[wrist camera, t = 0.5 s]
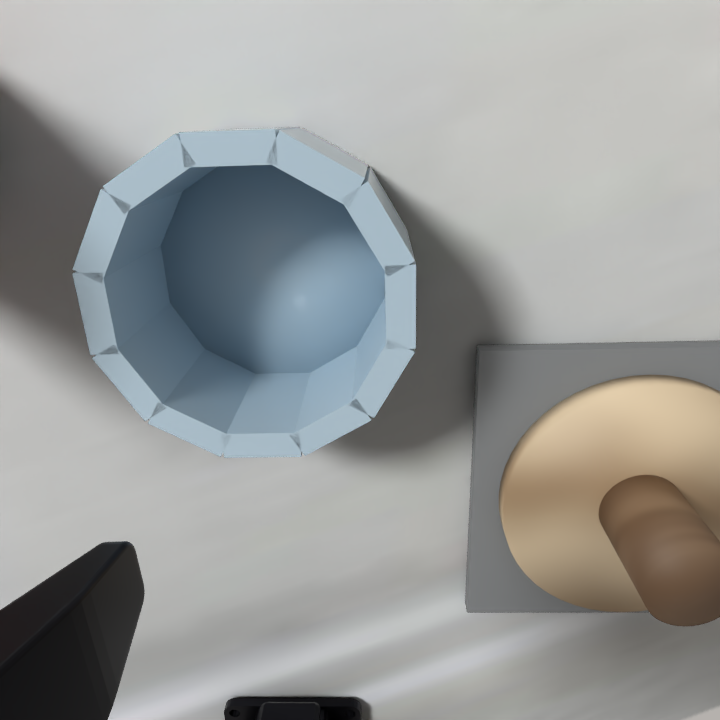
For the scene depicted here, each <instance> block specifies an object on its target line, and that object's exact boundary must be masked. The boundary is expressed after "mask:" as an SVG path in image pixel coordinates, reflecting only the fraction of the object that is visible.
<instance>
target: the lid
mask: <svg viewBox="0 0 720 720" xmlns="http://www.w3.org/2000/svg"><path fill="white" fill-rule="evenodd" d="M499 513H500V518H501V523H502V527H503V530H504V533H505V537H506V540H507V543H508V545H509V548H510V551H511V553H512V555H513V557H514V559H515V560H516V562H517V564H518V565H519V566H520V568H521V569H522V570H523V572H524V573H525V574H526V575H527V576H528V577H529V578H530V579H531V580H532V581H533V582H534V583H535V584H536V585H538V586H539V587H540V588H542V589H543V590H544V591H546V592H547V593H549V594H551V595H553V596H555V597H556V598H558V599H560V600H563V601H565V602H568V603H570V604H573V605H576V606H580V607H584V608H587V609H592V610H599V611H606V612H638V611H645V610H648V611H649V612H650V613H651V614H652V615H653V616H654V617H655V618H656V619H658V620H660V621H662V622H664V623H667V624H670V625H675V626H695V625H700V624H704V623H707V622H710V621H713V620H715V619H717V618H719V617H720V391H718V390H716V389H714V388H712V387H709V386H707V385H705V384H703V383H700V382H697V381H693V380H690V379H687V378H681V377H675V376H669V375H636V376H628V377H622V378H617V379H612V380H609V381H605V382H602V383H599V384H596V385H593V386H590V387H588V388H586V389H583V390H581V391H579V392H576V393H575V394H573V395H571V396H569V397H568V398H566V399H564V400H562V401H561V402H559V403H558V404H556V405H555V406H553V407H552V408H551V409H549V410H548V411H547V412H545V413H544V414H543V415H542V416H541V417H540V418H539V419H538V420H537V421H535V422H534V423H533V424H532V425H531V426H530V428H529V429H528V430H527V431H526V432H525V434H524V435H523V436H522V437H521V438H520V440H519V441H518V443H517V445H516V446H515V448H514V449H513V451H512V452H511V455H510V457H509V459H508V461H507V463H506V465H505V468H504V471H503V475H502V478H501V482H500V489H499Z"/></svg>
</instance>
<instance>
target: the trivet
mask: <svg viewBox="0 0 720 720" xmlns="http://www.w3.org/2000/svg"><path fill="white" fill-rule="evenodd" d="M636 375H669V376H675V377H681V378H687V379H690V380H693V381H697V382H700V383H703V384H705V385H707V386H709V387H712V388H714V389H716V390H718V391H720V341H674V342H622V343H570V344H517V345H477V357H476V379H475V401H474V422H473V444H472V465H471V487H470V508H469V530H468V552H467V573H466V595H465V604H466V609H467V613H516V612H606V611H599V610H592V609H587V608H584V607H580V606H576V605H573V604H570V603H568V602H565V601H563V600H560V599H558V598H556V597H555V596H553V595H551V594H549V593H547V592H546V591H544V590H543V589H542V588H540V587H539V586H538V585H536V584H535V583H534V582H533V581H532V580H531V579H530V578H529V577H528V576H527V575H526V574H525V573H524V572H523V570H522V569H521V568H520V566H519V565H518V564H517V562H516V560H515V559H514V557H513V555H512V553H511V551H510V548H509V545H508V543H507V540H506V537H505V533H504V530H503V527H502V523H501V518H500V513H499V489H500V482H501V478H502V475H503V471H504V468H505V465H506V463H507V461H508V459H509V457H510V455H511V452H512V451H513V449H514V448H515V446H516V445H517V443H518V441H519V440H520V438H521V437H522V436H523V435H524V434H525V432H526V431H527V430H528V429H529V428H530V426H531V425H532V424H533V423H534V422H535V421H537V420H538V419H539V418H540V417H541V416H542V415H543V414H544V413H545V412H547V411H548V410H549V409H551V408H552V407H553V406H555V405H556V404H558V403H559V402H561V401H562V400H564V399H566V398H568V397H569V396H571V395H573V394H575V393H576V392H579V391H581V390H583V389H586V388H588V387H590V386H593V385H596V384H599V383H602V382H605V381H609V380H612V379H617V378H622V377H628V376H636ZM638 612H649V611H648V610H645V611H638Z"/></svg>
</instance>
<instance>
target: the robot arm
mask: <svg viewBox="0 0 720 720" xmlns="http://www.w3.org/2000/svg"><path fill="white" fill-rule="evenodd" d="M143 601H144V584H143V579H142V575H141V571H140V567H139V563H138V559H137V555H136V551H135V548H134V546H133V545H132V544H131V543H130V542H127V541H122V542H104V543H101V544H99V545H98V546H96V547H95V548H93V549H92V550H90V551H89V552H87V553H86V554H84V555H83V556H81V557H80V558H78V559H77V560H75V561H74V562H72V563H71V564H69V565H68V566H66V567H64V568H63V569H61V570H60V571H58V572H57V573H55V574H54V575H52V576H51V577H49V578H48V579H46V580H45V581H43V582H42V583H40V584H39V585H37V586H36V587H34V588H33V589H31V590H30V591H28V592H27V593H25V594H24V595H22V596H21V597H19V598H18V599H16V600H15V601H13V602H12V603H10V604H9V605H7V606H6V607H4V608H3V609H1V610H0V720H108V717H109V714H110V712H111V709H112V706H113V703H114V700H115V697H116V694H117V691H118V687H119V684H120V681H121V677H122V674H123V670H124V667H125V663H126V660H127V657H128V653H129V650H130V646H131V643H132V639H133V636H134V633H135V629H136V626H137V622H138V619H139V615H140V612H141V608H142V605H143ZM224 715H225V720H362V718H361V705H360V703H359V702H358V701H357V700H355V699H308V698H233V699H230V700H228V701H227V703H226V706H225V710H224Z"/></svg>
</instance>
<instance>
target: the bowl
mask: <svg viewBox="0 0 720 720" xmlns="http://www.w3.org/2000/svg"><path fill="white" fill-rule="evenodd" d="M367 167H368V164H367V163H365V162H363V161H361V160H359V159H358V158H356V157H354V156H352V155H351V154H349V153H347V152H345V151H344V150H342V149H340V148H339V147H337V146H335V145H333V144H331V143H329V142H328V141H326V140H324V139H322V138H321V137H319V136H317V135H315V134H314V133H312V132H310V131H308V130H307V129H305V128H300V127H284V128H255V129H226V130H209V131H192V132H179V133H178V134H174V135H173V136H171V137H170V138H169V139H167V140H166V141H164V142H163V143H162V144H160V145H159V146H157V147H156V148H155V149H153V150H152V151H151V152H149V153H148V154H146V155H145V156H144V157H142V158H141V159H140V160H138V161H137V162H135V163H134V164H133V165H131V166H130V167H129V168H127V169H126V170H124V171H123V172H122V173H120V174H119V175H117V176H116V177H115V178H113V179H112V180H111V181H109V182H108V183H106V184H105V185H104V186H103V187H104V189H100V192H99V195H98V198H97V201H96V203H95V206H94V209H93V212H92V215H91V218H90V221H89V224H88V226H87V229H86V232H85V235H84V238H83V241H82V244H81V246H80V249H79V252H78V255H77V258H76V261H75V264H74V266H73V270H75V271H76V272H74V273H72V275H73V279H74V284H75V288H76V293H77V297H78V302H79V306H80V311H81V315H82V320H83V324H84V329H85V333H86V338H87V342H88V347H89V352H90V355H95V356H94V357H93V358H92V359H93V360H94V361H95V362H96V364H97V365H98V366H99V367H100V368H101V370H102V371H103V372H104V373H105V374H106V376H107V377H108V378H109V379H110V380H111V382H112V383H113V384H114V385H115V386H116V387H117V389H118V390H119V391H120V392H121V393H122V395H123V396H124V397H125V398H126V399H127V401H128V402H129V403H130V404H131V405H132V406H133V408H134V409H135V410H136V411H137V412H138V414H139V415H140V416H141V417H142V418H143V420H144V421H146V420H148V419H149V418H150V420H149V422H148V424H150V425H152V426H154V427H157V428H159V429H161V430H163V431H165V432H168V433H170V434H172V435H174V436H176V437H178V438H181V439H183V440H185V441H187V442H189V443H191V444H194V445H196V446H198V447H200V448H202V449H205V450H207V451H209V452H211V453H213V454H215V455H218V456H220V457H221V455H222V453H223V452H224V458H238V457H301V456H302V453H303V454H304V455H305V456H306V455H307V454H309V453H311V452H313V451H315V450H317V449H319V448H321V447H322V446H324V445H326V444H328V443H330V442H332V441H334V440H336V439H337V438H339V437H341V436H343V435H345V434H347V433H349V432H351V431H352V430H354V429H356V428H358V427H360V426H362V425H364V424H366V423H367V422H369V421H371V420H372V417H373V418H374V417H375V416H376V414H377V412H378V411H379V409H380V408H381V406H382V404H383V403H384V401H385V399H386V398H387V396H388V395H389V393H390V391H391V390H392V388H393V387H394V385H395V383H396V382H397V380H398V378H399V377H400V375H401V374H402V372H403V370H404V369H405V367H406V366H407V364H408V362H409V361H410V359H411V357H412V356H413V354H414V353H415V351H414V349H416V262H415V259H414V255H413V251H412V247H411V243H410V239H409V235H408V232H407V228H406V227H405V225H404V223H403V222H402V220H401V218H400V216H399V215H398V213H397V211H396V210H395V208H394V206H393V204H392V203H391V201H390V199H389V197H388V196H387V194H386V192H385V191H384V189H383V187H382V186H381V184H380V182H379V180H378V179H377V177H376V175H375V174H374V172H373V170H372V168H371V167H370V168H368V169H367Z"/></svg>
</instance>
